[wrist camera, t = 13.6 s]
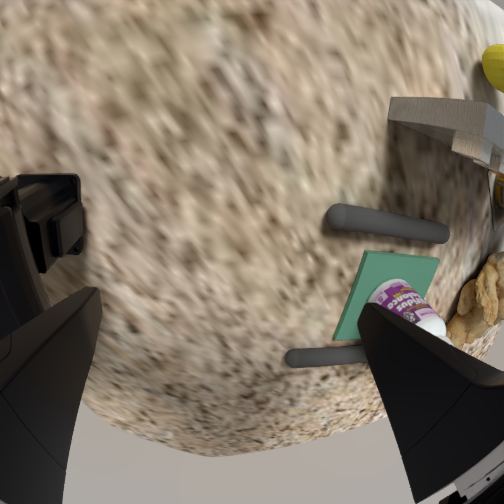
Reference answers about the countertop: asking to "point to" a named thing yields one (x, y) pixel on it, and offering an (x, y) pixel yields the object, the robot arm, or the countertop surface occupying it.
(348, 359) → the dark grey rounded rod
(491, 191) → the condiment
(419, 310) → the pill bottle
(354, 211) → the dark grey rod
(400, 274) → the pad
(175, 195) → the countertop surface
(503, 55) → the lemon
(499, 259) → the ginger root
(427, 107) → the gray printed box
